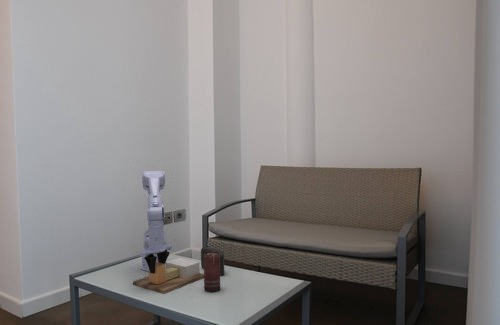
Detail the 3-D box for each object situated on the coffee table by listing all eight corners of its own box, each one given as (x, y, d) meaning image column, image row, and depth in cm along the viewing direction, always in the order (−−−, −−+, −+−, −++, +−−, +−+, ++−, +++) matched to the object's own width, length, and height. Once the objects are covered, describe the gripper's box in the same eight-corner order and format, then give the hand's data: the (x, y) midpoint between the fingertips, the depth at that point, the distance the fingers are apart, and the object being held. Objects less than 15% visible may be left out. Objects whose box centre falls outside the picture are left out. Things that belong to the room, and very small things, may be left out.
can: (208, 293, 151) (207, 256, 150) (201, 288, 156) (201, 252, 156) (223, 290, 153) (222, 254, 153) (216, 285, 159) (216, 250, 158)
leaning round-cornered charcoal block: (230, 274, 173) (229, 252, 173) (221, 276, 170) (221, 254, 170) (208, 266, 186) (208, 245, 185) (200, 268, 183) (199, 247, 182)
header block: (165, 273, 171) (165, 262, 171) (179, 268, 178) (179, 257, 178) (186, 278, 164) (185, 266, 164) (199, 273, 171) (199, 262, 171)
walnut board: (132, 284, 161) (132, 281, 161) (175, 269, 180) (175, 267, 180) (163, 293, 151) (163, 290, 151) (205, 277, 170) (205, 274, 169)
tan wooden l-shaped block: (149, 282, 160) (148, 264, 160) (175, 272, 171) (175, 256, 171) (157, 284, 157) (157, 266, 157) (184, 274, 168) (183, 258, 168)
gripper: (148, 242, 151) (149, 278, 152) (177, 235, 163) (177, 268, 163) (136, 239, 155) (137, 274, 156) (164, 232, 167) (165, 265, 167)
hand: (157, 271), depth 160 cm, fingers closed on tan wooden l-shaped block, 4 cm apart
